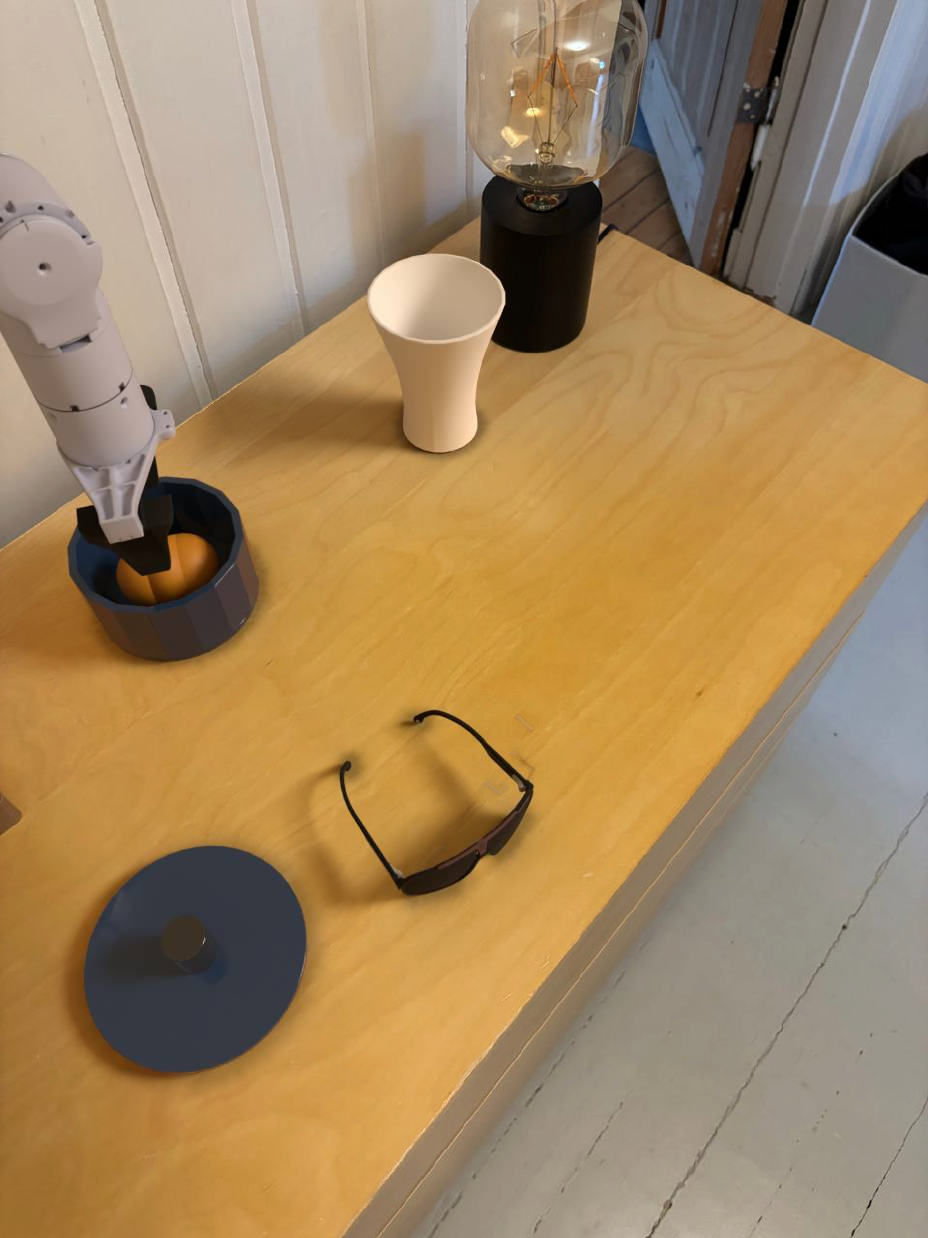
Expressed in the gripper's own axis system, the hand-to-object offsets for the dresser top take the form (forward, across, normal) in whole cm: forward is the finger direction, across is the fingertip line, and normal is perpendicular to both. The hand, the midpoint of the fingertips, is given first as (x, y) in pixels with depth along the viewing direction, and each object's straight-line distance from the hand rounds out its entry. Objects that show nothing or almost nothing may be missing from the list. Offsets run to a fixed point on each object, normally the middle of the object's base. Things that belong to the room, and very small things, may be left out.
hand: (149, 526), depth 65 cm
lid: (+8, -28, +2) cm, 29 cm away
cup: (+8, +12, -24) cm, 28 cm away
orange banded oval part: (+8, 0, 0) cm, 8 cm away
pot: (+8, 0, 0) cm, 8 cm away
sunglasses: (+8, -22, -14) cm, 27 cm away
